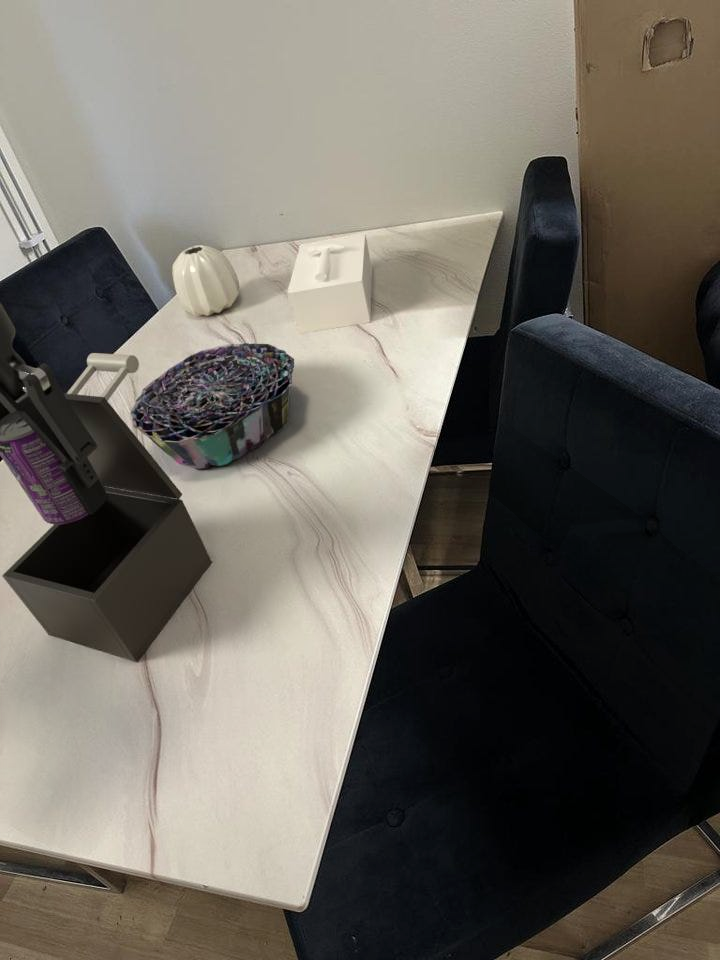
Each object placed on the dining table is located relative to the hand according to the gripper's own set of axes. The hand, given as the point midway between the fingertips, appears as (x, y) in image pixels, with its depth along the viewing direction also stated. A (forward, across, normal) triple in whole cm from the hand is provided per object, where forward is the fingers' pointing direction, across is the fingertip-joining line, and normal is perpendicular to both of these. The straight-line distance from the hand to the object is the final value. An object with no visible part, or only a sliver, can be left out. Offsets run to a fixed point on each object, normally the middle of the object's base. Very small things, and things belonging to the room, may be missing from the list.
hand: (72, 500), depth 73 cm
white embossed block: (+17, -8, +80) cm, 82 cm away
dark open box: (+16, 0, 0) cm, 16 cm away
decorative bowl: (+17, -7, +35) cm, 39 cm away
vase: (+17, -38, +76) cm, 87 cm away
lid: (-3, 0, +6) cm, 6 cm away
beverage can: (+1, 0, 0) cm, 1 cm away
